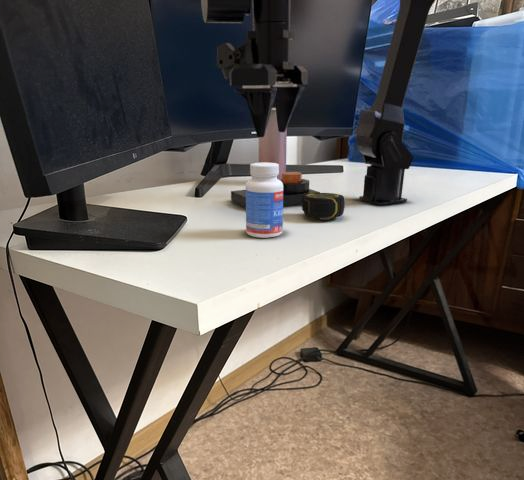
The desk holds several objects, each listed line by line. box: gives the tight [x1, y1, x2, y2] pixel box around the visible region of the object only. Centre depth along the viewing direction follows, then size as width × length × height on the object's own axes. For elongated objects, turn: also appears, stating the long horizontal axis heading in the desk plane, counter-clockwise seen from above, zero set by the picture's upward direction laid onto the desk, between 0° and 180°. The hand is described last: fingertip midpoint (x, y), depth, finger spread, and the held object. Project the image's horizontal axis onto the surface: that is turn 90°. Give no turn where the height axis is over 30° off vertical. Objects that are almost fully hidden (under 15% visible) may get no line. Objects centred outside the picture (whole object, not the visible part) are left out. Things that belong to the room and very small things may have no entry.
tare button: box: [282, 171, 303, 183], centre depth 95 cm, size 4×4×2 cm
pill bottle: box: [245, 162, 284, 239], centre depth 73 cm, size 6×5×10 cm
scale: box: [230, 178, 321, 209], centre depth 94 cm, size 14×9×4 cm, turn 117°
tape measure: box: [300, 192, 346, 221], centre depth 83 cm, size 7×7×4 cm
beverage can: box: [258, 107, 288, 179], centre depth 110 cm, size 6×6×15 cm
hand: (271, 134), depth 85 cm, fingers open, 9 cm apart
